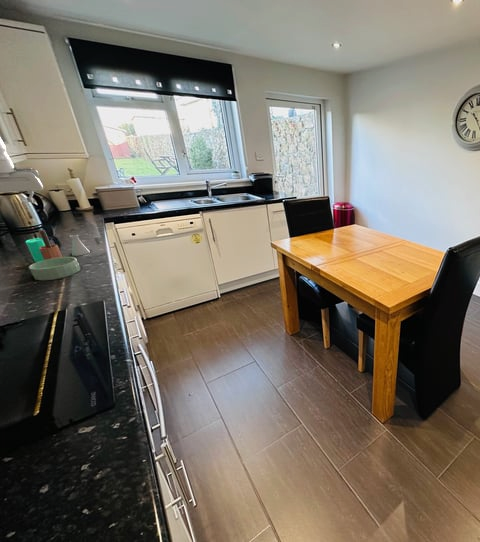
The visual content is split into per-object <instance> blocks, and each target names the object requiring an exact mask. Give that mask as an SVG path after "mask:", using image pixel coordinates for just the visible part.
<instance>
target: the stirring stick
mask: <svg viewBox="0 0 480 542" xmlns="http://www.w3.org/2000/svg"><path fill="white" fill-rule="evenodd" d="M38 233H39V236H40V238H42V240H43V242H44V244H45V246H46V248H51V247H52V246H51V245H52V243H51V242H50V239H49V237H48V235H47V232H46V230H45V229H39V230H38Z"/></svg>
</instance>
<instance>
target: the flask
mask: <svg viewBox="0 0 480 542" xmlns="http://www.w3.org/2000/svg"><path fill="white" fill-rule="evenodd" d="M69 238H70V239H71V243H72V244H71V250H72V251H71V255H72V256H83V255H87V254H90V252H91V251H90V250H89V249H88V248H87V247H86V246H85V245H84V243H83V242H82V241H81V240H80V238H79V234H71V235H69Z"/></svg>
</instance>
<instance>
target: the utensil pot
mask: <svg viewBox="0 0 480 542" xmlns="http://www.w3.org/2000/svg"><path fill="white" fill-rule="evenodd" d="M51 246H52V247H51V248H46V246H42V247H39V249H40V252H41V254H42V256H43V258H44V260H47V259H52V258H58V257H63V254H62V252H61V250H60V247H59V246H58V244H51Z"/></svg>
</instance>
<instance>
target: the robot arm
mask: <svg viewBox="0 0 480 542" xmlns="http://www.w3.org/2000/svg"><path fill="white" fill-rule="evenodd" d="M42 190H44V185H43V183H42V181H41V180H40V174H39V172H38V170H36V169H35V168H32V167H29V166H28V167H15V165H14V163H13V161H12V159H11V157H10V156H9V155H8V153H7V147H6V145H5V143H4V141H3V139H2V138H1V136H0V193H19V192H27V194H28V195H29V196H28V197H26V198H25V199H26V201H27V203H34V199H33V197H34V194H35V192H36V191H42Z"/></svg>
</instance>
